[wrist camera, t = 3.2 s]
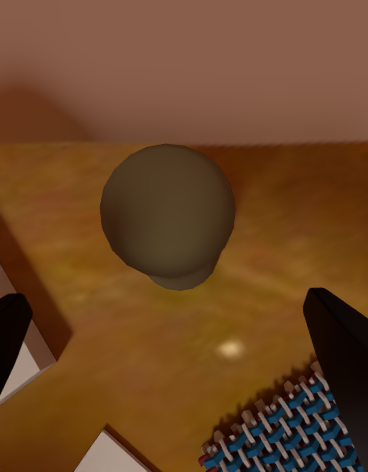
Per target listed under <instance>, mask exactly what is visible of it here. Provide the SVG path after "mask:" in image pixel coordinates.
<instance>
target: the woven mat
mask: <svg viewBox="0 0 368 472" xmlns="http://www.w3.org/2000/svg"><path fill="white" fill-rule="evenodd" d="M310 367H311V369H312V370H313V371H314V372H313V373H312V375H311V376H310V378H309V379H308V380H307V379H306V378H305V377H304V376H301V377H300V378H298V380H299V382H300V386H298V385H296V386H294V385H293V384H292V383H290V382H289V381H287V382H286V383H284V388H285V392H286V393H287V394H288V396H286V397H285V398H283V399H282V397H280V396H278V395H277V394H276V395H274V396H273V397H272V399H273V403H272V404H271V405H270V407H268V406H267V405H265V403H264V402H263V400H262V398H261V399H260V400H258V401H257V402H255V403H254V404H255V406H256V408H257V409H258V411H259V413H258V414H256V415H252V413H251V411H250V410H246V411H244V412H243V413H242V414H241V416H242V418H243V420H244V422H243V423H242V424H241V425H238V424H237V423H235V424H234V425H232V426H231V427H230V428H231V430H232V432H233V434H231V435H230V436H229V437H227V438H226V437H225V436H224V434H223V433H222V432H221V431H220V430H217V431H216V432H215V433H214V441H215V442H216V443H217V444H218V445H216V446H214V444H213V445H212V447H210V446H209V444H208V442H207V443H206V444H205V445H203V446H202V447H200V448H201V450H202V452H203V454H204V455H203V456H201V457H200V458H199V460H198V462H199V464H200V465H201V467H202V466H203V465H204V466H205V467H206V469H207V468H209V469H208V470H207V471H206V472H266V471H268V472H364V470H363V467H362V465H361V463H360V460H359V458H358V455H357V453H356V451H355V448H354V446H353V444H352V441H351V439H350V436H349V434H348V432H347V429H346V427H345V424H344V422H343V420H342V417H341V415H340V413H339V410H338V408H337V405H336V403H335V401H334V398H333V396H332V393H331V391H330V389H329V386H328V384H327V382H326V379H325V377H324V374H323V372H322V370H321V367H320V365H319V362H318V361H315V362H313V363H312V365H311V366H310ZM306 396H308V398H306ZM331 406H332V408H331ZM257 423H258V424H257ZM265 427H266V428H265ZM248 439H249V441H248ZM211 448H212V449H211ZM343 453H344V454H345V456H344V455H343ZM224 457H225V458H224ZM223 458H224V459H223ZM303 463H305V464H306V465H304V464H303ZM327 467H328V468H327ZM326 468H327V469H326Z"/></svg>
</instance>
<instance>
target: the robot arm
mask: <svg viewBox="0 0 368 472" xmlns="http://www.w3.org/2000/svg"><path fill="white" fill-rule="evenodd" d="M303 313H304V317H305V320H306V323H307V327H308V330H309V333H310V337H311V340H312V343H313V347H314V350H315V353H316V356H317V359H318V362H319V365H320V367H321V370H322V372H323V374H324V377H325V379H326V382H327V384H328V386H329V389H330V391H331V393H332V396H333V398H334V401H335V403H336V405H337V408H338V410H339V413H340V415H341V417H342V420H343V422H344V424H345V427H346V429H347V432H348V434H349V436H350V439H351V441H352V444H353V446H354V448H355V451H356V453H357V455H358V458H359V460H360V463H361V465H362V467H363V470H364V472H368V318H367V317H365V316H364V315H362V314H361V313H360V312H358V311H357V310H355V309H354V308H352V307H351V306H350V305H348V304H347V303H345V302H344V301H342V300H341V299H340V298H338V297H337V296H335V295H334V294H333V293H331V292H330V291H328V290H327V289H325V288H310V289H309V290H308V292H307V295H306V299H305V302H304V305H303ZM32 316H33V311H32V309H31V307H30V305H29V303H28V301H27V299H26V297H25V295H24V294H22V293H9V294H6V295H5V296H3V297H1V298H0V395H1V393H2V391H3V389H4V387H5V384H6V382H7V380H8V378H9V376H10V374H11V372H12V370H13V367H14V365H15V363H16V360H17V358H18V355H19V352H20V350H21V347H22V344H23V342H24V339H25V336H26V333H27V331H28V328H29V325H30V322H31V320H32Z"/></svg>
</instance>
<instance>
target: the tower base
mask: <svg viewBox="0 0 368 472" xmlns="http://www.w3.org/2000/svg"><path fill="white" fill-rule="evenodd" d="M9 293H17V292H16V291H15V289H14V287H13V285H12V284H11V282H10V280H9V279H8V277H7V275H6V273H5V272H4V270H3V268H2V267H1V265H0V298H1V297H3V296H5V295H6V294H9ZM56 362H57V361H56V360H55V358H54V356H53V354H52V353H51V351H50V349H49V348H48V346H47V344H46V342H45V341H44V339H43V337H42V335H41V334H40V332H39V330H38V329H37V327H36V325H35V323H34V322H33V320H31V322H30V325H29V328H28V331H27V333H26V336H25V339H24V342H23V344H22V347H21V350H20V352H19V355H18V358H17V360H16V363H15V365H14V367H13V370H12V372H11V374H10V376H9V378H8V380H7V382H6V384H5V387H4V389H3V391H2V393H1V395H0V405H1V404H2V403H3V402H5V401H6V400H7V399H9V398H10V397H11V396H13V395H14V394H15V393H17V392H18V391H19V390H20V389H22V388H23V387H24V386H26V385H27V384H28V383H30V382H31V381H32V380H34V379H35V378H36V377H38V376H39V375H40V374H42V373H43V372H44V371H45V370H47V369H48V368H49V367H51V366H52V365H53V364H55V363H56Z"/></svg>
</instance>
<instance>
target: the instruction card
mask: <svg viewBox="0 0 368 472" xmlns="http://www.w3.org/2000/svg"><path fill="white" fill-rule="evenodd" d="M74 472H152V471H151V470H149V469H148V468H147V467H146V466H145V465H144V464H143V463H142V462H140V461H139V460H138V459H137V458H136V457H135V456H134V455H133V454H132V453H130V452H129V451H128V450H127V449H126V448H125V447H124V446H123V445H122V444H120V443H119V442H118V441H117V440H116V439H115V438H114V437H113V436H112V435H110V434H109V433H108V432H107V431H106V430H105V429H103V430H102V432H101V433H100V435H99V436H98V438H97V439H96V440H95V442H94V443H93V445H92V446H91V448H90V449H89V451H88V452H87V453H86V455H85V456H84V458H83V459H82V461H81V462H80V463H79V465H78V466H77V468H76V469H75V471H74Z"/></svg>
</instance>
